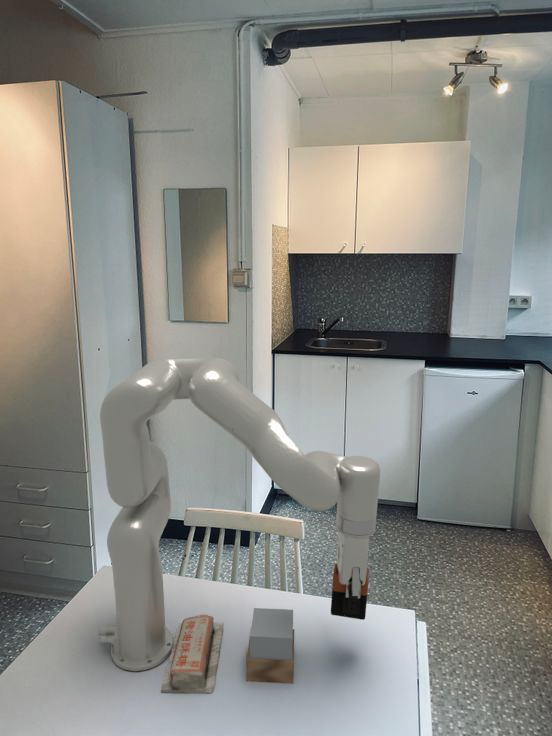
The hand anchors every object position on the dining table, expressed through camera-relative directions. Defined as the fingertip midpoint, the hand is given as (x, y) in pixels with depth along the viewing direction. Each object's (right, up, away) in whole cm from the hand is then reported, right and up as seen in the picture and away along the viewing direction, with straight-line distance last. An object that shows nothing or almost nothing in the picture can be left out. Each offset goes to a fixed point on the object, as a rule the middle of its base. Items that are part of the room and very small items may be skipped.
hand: (349, 602), depth 106 cm
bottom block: (-16, -13, +1) cm, 20 cm away
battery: (0, -2, 0) cm, 2 cm away
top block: (-15, -8, 0) cm, 17 cm away
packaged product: (-31, -13, +3) cm, 34 cm away
